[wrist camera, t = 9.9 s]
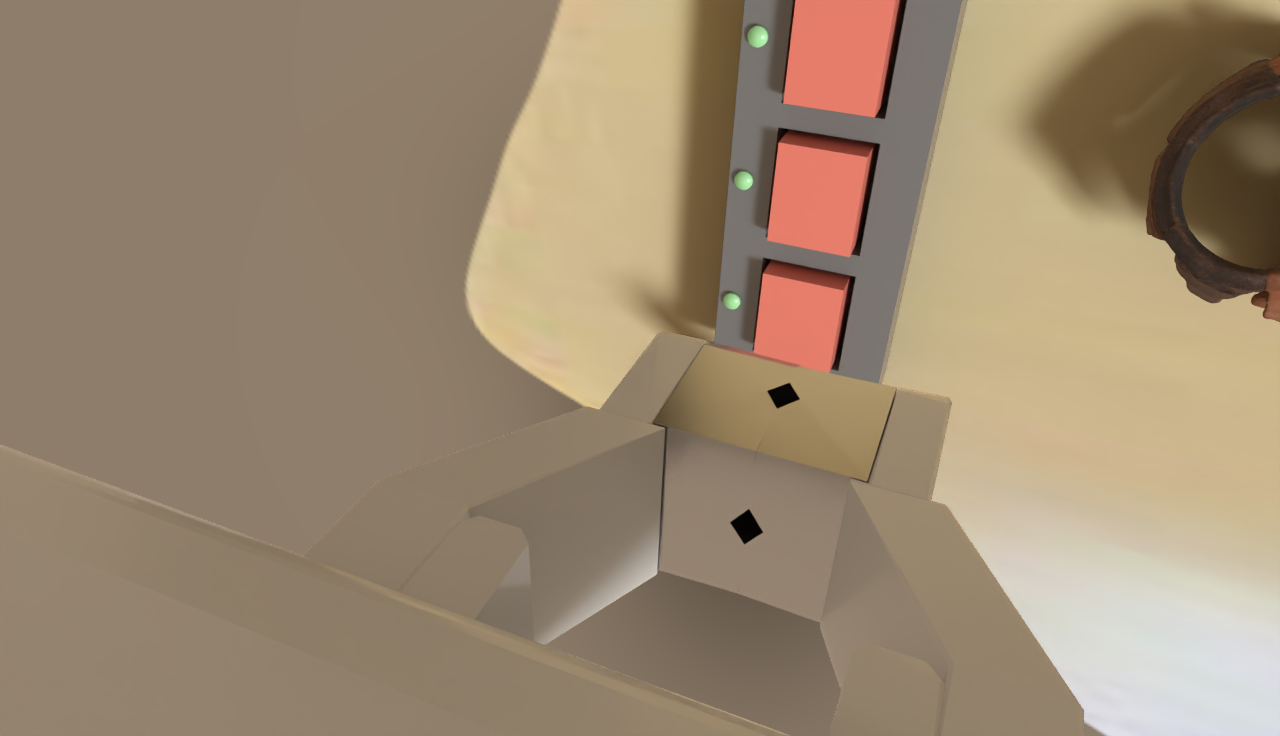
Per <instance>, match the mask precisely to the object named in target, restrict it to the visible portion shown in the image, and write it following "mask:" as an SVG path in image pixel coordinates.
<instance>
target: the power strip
mask: <svg viewBox="0 0 1280 736" xmlns="http://www.w3.org/2000/svg"><path fill="white" fill-rule="evenodd" d="M966 4H967V0H905V6H904V11H903V17H902V22H901V28H900V33H899V38H898V44H897V49H896V55H895V60H894V66H893V71H892V76H891V82H890V87H889V93H888V96H887V98H886V99H885V101H884V103H883V104H882V106H881V108H880V109H879V111H878V113H877V114H876V116H875V118H874V117H868V116H861V115H855V114H848V113H842V112H835V111H829V110H822V109H816V108H809V107H803V106H796V105H790V104H783V101H784V93H785V84H786V76H787V67H788V59H789V51H790V42H791V34H792V25H793V17H794V8H795V0H745V2H744V14H743V25H742V36H741V48H740V59H739V70H738V82H737V93H736V104H735V116H734V127H733V138H732V150H731V161H730V172H729V184H728V195H727V206H726V218H725V229H724V240H723V252H722V263H721V274H720V286H719V297H718V308H717V320H716V331H715V342H714V343H718V344H722V345H725V346H729V347H733V348H737V349H741V350H745V351H748V352H752V353H754V346H755V337H756V329H757V320H758V312H759V304H760V295H761V287H762V278H763V273H764V271H765V270H766V268H767V266H768V265H769V263H770V262H771V260H772V259H773V260H778V261H783V262H788V263H792V264H797V265H802V266H807V267H811V268H816V269H821V270H826V271H831V272H835V273H840V274H845V275H850V276H855V277H854V283H853V288H852V293H851V299H850V304H849V310H848V315H847V320H846V326H845V331H844V337H843V342H842V344H841V347H840V349H839V351H838V354H837V356H836V358H835V361H834V363H833V365H832V368H831V370H830V373H832V374H836V375H841V376H846V377H850V378H855V379H859V380H864V381H868V382H873V383H878V384H881V383H882V380H883V377H884V374H885V370H886V366H887V361H888V357H889V352H890V348H891V343H892V339H893V334H894V330H895V325H896V320H897V316H898V311H899V307H900V302H901V298H902V293H903V289H904V284H905V280H906V275H907V271H908V266H909V262H910V257H911V253H912V248H913V244H914V239H915V235H916V230H917V226H918V221H919V217H920V212H921V207H922V203H923V198H924V194H925V189H926V185H927V180H928V176H929V171H930V167H931V162H932V158H933V153H934V149H935V144H936V140H937V135H938V131H939V126H940V122H941V117H942V113H943V108H944V104H945V99H946V95H947V90H948V85H949V81H950V76H951V72H952V67H953V63H954V58H955V54H956V49H957V45H958V40H959V36H960V31H961V27H962V22H963V18H964V13H965V9H966ZM789 129H792V130H798V131H804V132H810V133H816V134H823V135H829V136H835V137H841V138H847V139H853V140H859V141H866V142H872V143H878V144H879V147H878V153H877V158H876V163H875V169H874V174H873V180H872V185H871V191H870V196H869V201H868V207H867V212H866V218H865V223H864V228H863V231H862V233H861V235H860V237H859V239H858V241H857V243H856V245H855V247H854V249H853V251H852V253H851V256H850V257H846V256H841V255H836V254H831V253H826V252H821V251H816V250H811V249H806V248H801V247H796V246H791V245H786V244H782V243H777V242H772V241H767V237H768V228H769V220H770V211H771V203H772V195H773V186H774V178H775V169H776V161H777V152H778V144H779V141H780V140H781V139H782V138H783V137H784V135H785V134H786V133H787V132H788V130H789Z"/></svg>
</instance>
